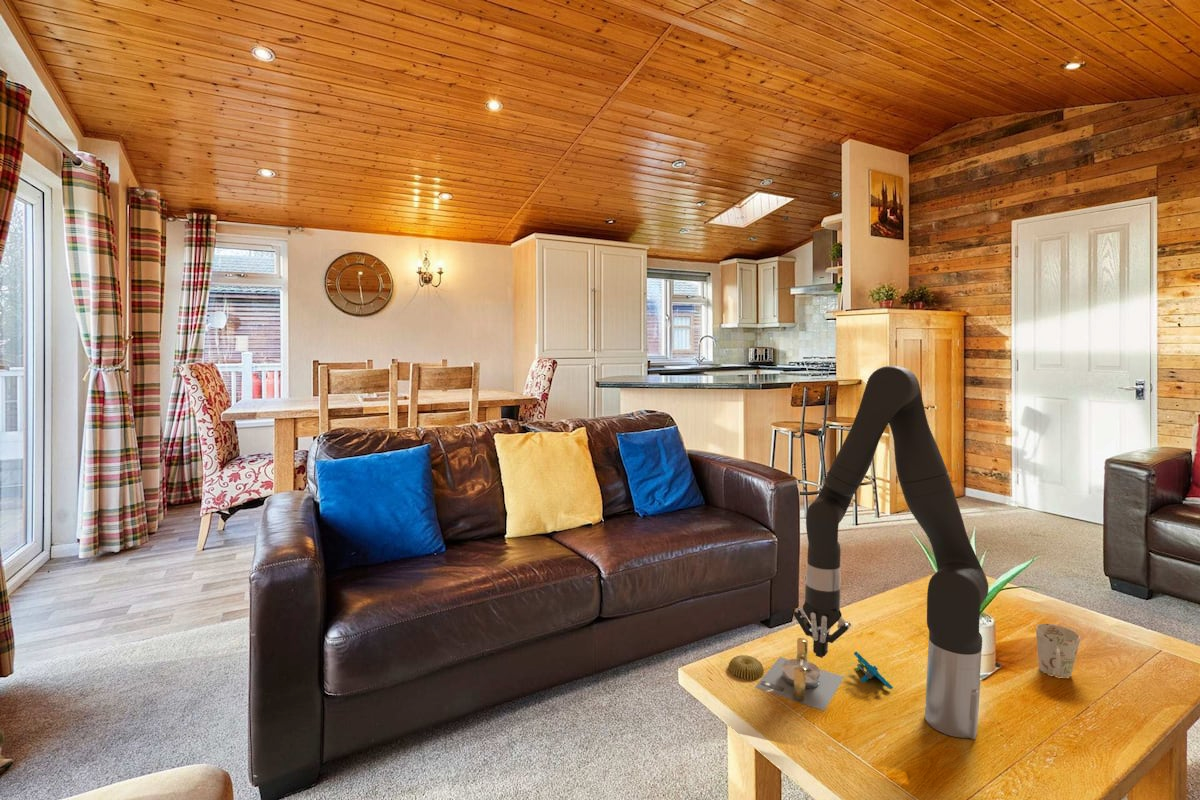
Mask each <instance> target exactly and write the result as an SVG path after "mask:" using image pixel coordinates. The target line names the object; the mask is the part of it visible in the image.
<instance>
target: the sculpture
mask: <svg viewBox="0 0 1200 800" xmlns="http://www.w3.org/2000/svg"><path fill="white" fill-rule="evenodd" d="M764 669H765V668H764V666H763V664H762V663H761V661H760V660H758V659H757V658H755V657H754V656H750V655H743V654H742V655H736V656H735V657H733V658H731V660H729V663H728V671H729V673H731V675H733V676H735V677H736V678H737V677H738V679H740V680H742V679H743V680H746V681H748V680H750V681H752V680H753V681H754V680H757V679H760V678H761V679H762V677H764V673H765V672H764Z"/></svg>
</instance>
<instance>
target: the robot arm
mask: <svg viewBox="0 0 1200 800" xmlns="http://www.w3.org/2000/svg"><path fill="white" fill-rule="evenodd" d="M927 418H928V417H927V414H926V409H925V406H924V401H923V396H922V392H921V387H920V383H919V380H918V378H917V376H916V375H915V374H914V373H913V372H912V371H911V370H909V369H908V368H906V367H903V366H899V365H886V366H882V367H879V368H877V369H876V370H874V371H873V372H872V373H871V374H870V376H869V377H868V380H867V381H866V385H865V388H864V392H863V395H862V398H861V400H860V404H859V407H858V410H857V412H856V415H855V418H854V420H853V423H852V425H851V427H850V429H849V431H848V434H847V436H846V438H845V440H843V444H842V446H841V447H840V449H839V451H838V452H837V454H836V456H835V458H834V460H833V462H832V464H831V466H830V468H829V470H828V472H827V474H826V477H825V483H824V484H823V486H822V488H821V489H820V491H819V492H818V493H819V494H818V495H817V497H816V498H815V500H814V501H813V502H812V503H810V504H809V506H808V507H807V510H806V515H805V528H806V535H807V542H808V544H807V559H806V560H807V562H806V569H805V576H804V580H805V584H804V585H805V588H804V603H803V605H802V607H801V608H797V609H796V610H794V611H793V613H792V614H793V616H794V618H795V620H796V621H797V623H798V625H800V628H801V630H802V632H804V634H805V635H806V637H811V638H812V640H813V642H812V643H813V649H812V651H813V654H815V657H818V658H821V659H823V657H825V656H826V655H827V654H828V651H829V649H828V647H829V643H830V644H833V643H834V642H835V641H837V640H838V638H840V637H841V636H842V635H844V633H846V632H847V631H848V630H849V629H850V627H851V626H852V624H851V622H849V621H846V620H845V619H844V618H843V617H842V614H843V613H842V612H841V609H840V605H841V604H840V603H841V582H842V579H841V578H842V576H841V575H842V574H841V545H840V542H839V540H838V539H839V526H840V523H841V521H842V520H843V519H844V517H845V515H846V513H847V511H848V509H849V506H850V504H851V501H852V499H853V497H854V496H855V495H854V494H855V493H856V492H857V491H858V489H859V487H860V485H862V483H863V480H864V478H865V477H866V474H867V473H868V471H869V469H870V467H871V464H872V462H873V460H874V456H875V453H876V451H877V448H878V445H879V443H880V440H881V438H882V436H883V434H884V432H885V430H886V429H887V426H888V425H889V427H890V431H891V435H892V438H893V449H894V450H893V451H894V460H895V461H894V462H895V469H896V475H897V478H898V482H899V485H900V488H901V491H902V494H903V495H902V496H903V497H904V501H905V502H906V505H907V507H908V509H909V511H910V512H911V514H912V515H913V517H914V518H915V520H916V521H917V523H918V524H919V527H921V529H922V530H923V531H924V533H925V534H926V536H927V539H928V540H929V542H930V546H931V548H932V552H933V555H934V560H935V563H936V568H937V571H936V572H935V573H934V574H932V576H931V577H930V579H929V581H928V585H927V592H926V593H927V594H926V625H927V628H928V645H927V647H928V650H927V664H926V665H927V668H926V670H927V671H926V683H925V684H926V685H925V706H924V719H925V721H926V723H927V724H928V725H929V726H930V727H932V728H933V729H934V730H936V731H938V732H939V733H942V734H944V735H948V736H950V737H955V738H962V739H964V738H967V739H968V738H969V739H972V740H976V738H977V732H978V725H979V711H980V710H979V709H980V697H981V696H980V693H981V667H982V666H981V664H982V650H983V636H982V634H981V632H980V619H981V618H980V617H981V616H980V615H981V606H982V605H983V603H984V602H985V601H986V599H987V597H988V595H989V582H988V579H987V576H986V574H985V572H984V570H983V567H982V565H981V563H980V561H979V559H978V557H977V554H976V552H975V550H974V548H973V546H972V544H971V541H970V539H969V536H968V533H967V530H966V527H965V524H964V521H963V520H964V519H963V516H962V513H961V510H960V507H959V503H958V500H957V498H956V493H955V490H954V487H953V484H952V480H951V478H950V475H949V473H948V470H947V467H946V464H945V462H944V459H943V456H942V454H941V451H940V450H939V446H938V444H937V442H936V439H935V437H934V434H933V433H932V430H931V428H930V425H929V421H928V419H927ZM836 623H838V624H837V625H836V626H837V630H835V631H834V632H833V633H832V634H830V633H831V629H832V627H833V626H834V625H835V624H836Z"/></svg>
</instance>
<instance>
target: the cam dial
mask: <svg viewBox="0 0 1200 800" xmlns="http://www.w3.org/2000/svg"><path fill="white" fill-rule="evenodd" d="M808 646H809V640H808V639H807V638H803V637H798V638H797V639H796V658H791V659H789V660H787V661H785V662H784V663H783V668H782V677H783V679H784V680H785V681H786V682H787V683H789V684H791V685H793V697H794V698H795V699H797V700H804V699H805V688H813V687H816V686H817V685H818V684H819V678H820V670H819V669H820V668H819V667H818V666H817V664H815V663H813V662H811V661H808V656H809V655H808V654H809V653H808V652H809V647H808Z"/></svg>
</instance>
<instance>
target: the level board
mask: <svg viewBox="0 0 1200 800" xmlns="http://www.w3.org/2000/svg"><path fill="white" fill-rule="evenodd" d="M787 660H790V659H788V658H785V657H781V656H779V658H777V660H776V661H775V662H774V663H773V665H772V666H771V667H770V669H769V670H768V671H766V673H765V674H764V675H763V676H762V677H761V679H760V680H759V681H758V683H757V684H756V685H755V688H757V689H759V690H762V691H765V692H766V693H771V694H774V695H777V696H780V697H782V698H785V699H788V700H791V701H794V702H797V703H800V704H802V705H806V706H809V707H810V708H814V709H818V710H819V711H822V712H823V711H824V712H825V711H826V710H827V708H828V705H829V704H830V702H831V700H832V699H833V697H834V696H835V694H836V692H837V690H838V689H839V687H840V685H841V683H842V682H843V679H844V678H845V676H844V675H840V674H837V673H834V672H831V671H826V670H825V669H822V668H819V670H820V678H819V684H818V685H817V686H816V687H813V688H805V699H804V700H797V699H795V698H794V697H793V685H791V684H789V683H787V682H786V681H785V680H784V679H783V677H782V668H783V663H784V662H785V661H787Z"/></svg>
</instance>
